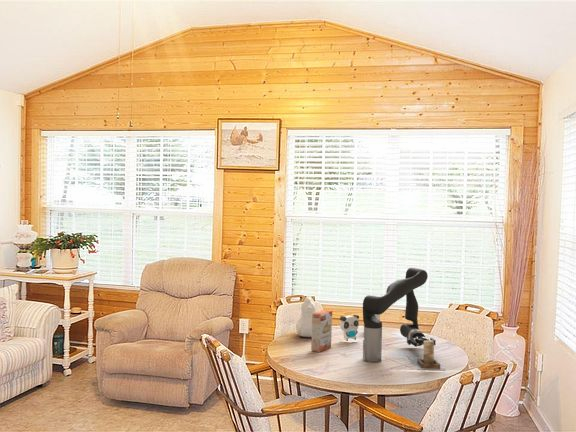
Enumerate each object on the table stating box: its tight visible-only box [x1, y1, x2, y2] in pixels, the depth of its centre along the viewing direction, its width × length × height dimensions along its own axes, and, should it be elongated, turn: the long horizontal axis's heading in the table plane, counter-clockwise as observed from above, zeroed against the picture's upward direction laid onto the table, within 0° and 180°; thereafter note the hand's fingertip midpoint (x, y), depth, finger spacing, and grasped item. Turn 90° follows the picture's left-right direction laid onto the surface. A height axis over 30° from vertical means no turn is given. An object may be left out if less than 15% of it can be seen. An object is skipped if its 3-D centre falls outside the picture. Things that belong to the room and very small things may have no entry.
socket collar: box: [417, 358, 441, 370], centre depth 267 cm, size 9×9×2 cm
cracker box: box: [310, 309, 333, 353], centre depth 299 cm, size 14×6×21 cm, turn 149°
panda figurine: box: [339, 314, 360, 341], centre depth 319 cm, size 12×11×15 cm
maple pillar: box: [422, 340, 435, 364], centre depth 268 cm, size 5×5×12 cm
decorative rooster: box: [295, 296, 317, 338], centre depth 332 cm, size 25×16×25 cm, turn 170°
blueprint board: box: [406, 355, 446, 371], centre depth 273 cm, size 14×22×1 cm, turn 1°
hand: (424, 344), depth 276 cm, fingers open, 8 cm apart
